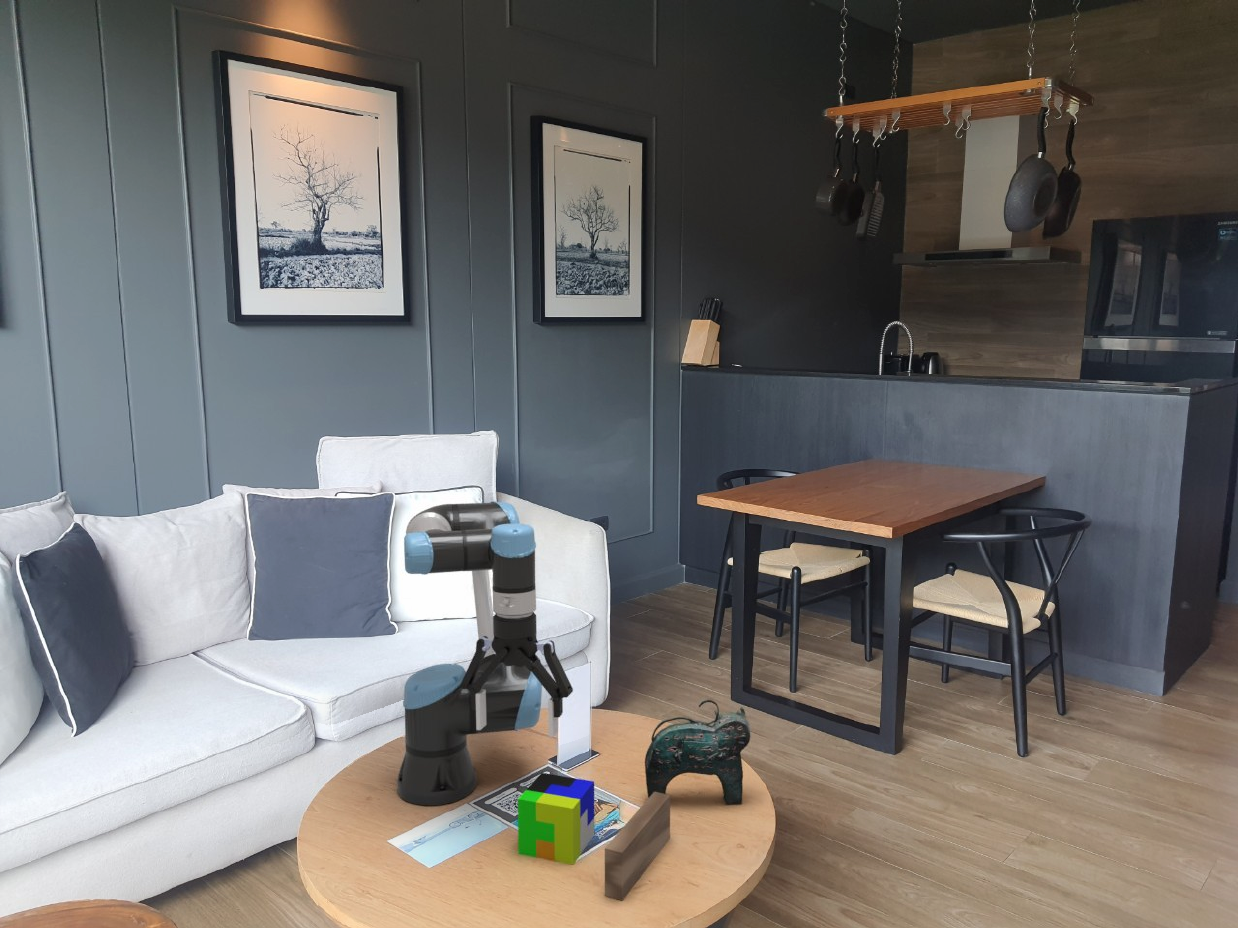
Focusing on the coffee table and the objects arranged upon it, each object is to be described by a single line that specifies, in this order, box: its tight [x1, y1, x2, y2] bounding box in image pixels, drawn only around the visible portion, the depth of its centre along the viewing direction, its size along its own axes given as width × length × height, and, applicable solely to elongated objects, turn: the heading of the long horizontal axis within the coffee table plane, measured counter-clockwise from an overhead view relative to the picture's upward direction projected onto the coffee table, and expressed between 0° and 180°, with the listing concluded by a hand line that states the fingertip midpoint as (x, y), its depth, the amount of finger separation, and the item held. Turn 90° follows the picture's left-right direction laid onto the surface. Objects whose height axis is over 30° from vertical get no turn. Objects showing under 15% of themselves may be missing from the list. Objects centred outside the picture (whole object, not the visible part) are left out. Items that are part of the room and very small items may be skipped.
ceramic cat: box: [644, 698, 751, 806], centre depth 172 cm, size 20×6×20 cm, turn 92°
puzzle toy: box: [517, 772, 595, 866], centre depth 159 cm, size 10×10×10 cm
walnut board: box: [604, 792, 671, 901], centre depth 152 cm, size 3×20×8 cm, turn 155°
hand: (517, 730), depth 163 cm, fingers open, 13 cm apart
